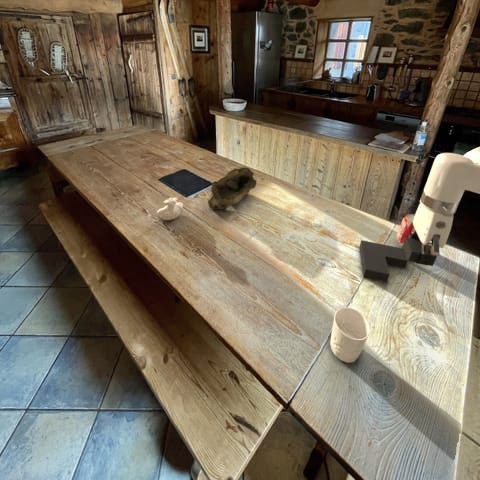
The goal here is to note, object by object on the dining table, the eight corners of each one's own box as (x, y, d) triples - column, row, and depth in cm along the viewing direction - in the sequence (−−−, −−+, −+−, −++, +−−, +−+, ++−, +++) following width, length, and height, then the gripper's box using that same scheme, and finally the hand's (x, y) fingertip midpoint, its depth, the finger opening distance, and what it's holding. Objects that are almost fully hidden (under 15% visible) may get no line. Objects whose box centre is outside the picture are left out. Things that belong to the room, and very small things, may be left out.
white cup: (357, 373, 62) (367, 347, 57) (324, 353, 65) (330, 327, 61) (363, 343, 68) (372, 317, 63) (332, 326, 71) (338, 301, 67)
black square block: (425, 250, 77) (429, 241, 75) (432, 266, 72) (437, 256, 70) (402, 246, 78) (405, 237, 77) (408, 261, 73) (411, 251, 72)
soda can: (392, 237, 104) (400, 212, 99) (411, 239, 103) (421, 213, 98) (399, 250, 97) (408, 224, 92) (420, 252, 97) (430, 226, 91)
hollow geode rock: (250, 195, 137) (236, 170, 139) (265, 187, 128) (250, 160, 130) (209, 218, 118) (193, 188, 120) (223, 210, 109) (206, 178, 111)
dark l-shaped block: (401, 256, 95) (403, 248, 93) (411, 288, 83) (414, 280, 81) (359, 247, 98) (361, 240, 97) (363, 276, 86) (365, 269, 85)
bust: (158, 227, 110) (163, 218, 102) (151, 211, 112) (155, 201, 104) (184, 216, 117) (191, 207, 108) (177, 201, 119) (183, 191, 111)
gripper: (472, 225, 59) (444, 282, 66) (442, 186, 74) (422, 237, 81) (434, 218, 61) (411, 275, 68) (412, 182, 76) (395, 232, 83)
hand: (417, 254), depth 75 cm, fingers closed on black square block, 6 cm apart
